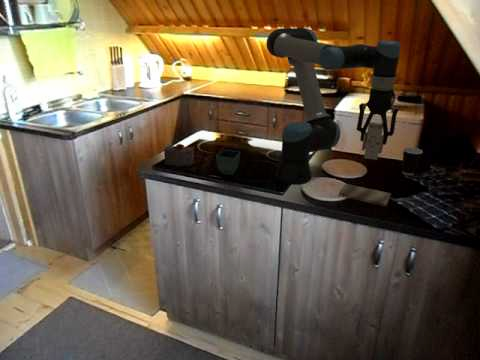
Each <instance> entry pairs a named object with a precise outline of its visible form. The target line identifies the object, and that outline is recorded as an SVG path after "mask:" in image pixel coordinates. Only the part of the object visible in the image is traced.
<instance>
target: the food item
mask: <svg viewBox="0 0 480 360" xmlns="http://www.w3.org/2000/svg"><path fill="white" fill-rule="evenodd" d="M194 153H195V148H194V147H189V146H185V145H184V144H181V143H177V144H176V145H167V146H166V147H165V148H164V149H163V156H164V165H165V166H175V167H176V168H178V167H191V166H192V164H195V163H194V162H195V159H194V158H195V157H194V155H195V154H194Z"/></svg>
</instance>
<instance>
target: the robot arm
mask: <svg viewBox="0 0 480 360" xmlns="http://www.w3.org/2000/svg"><path fill="white" fill-rule="evenodd" d="M265 44H266V49H267V51H268V53H269V54H270V55H272V57H277V58H279V59H280V58H281V59H285V58H287V61H288V64H289V65H291V66H293V70H294V75H295V77H296V82H297V86H298V90H299V94H300V98H301V103H302V105H303V110H304V114H305V118H306V119H305V120H304V121H294V122H290V123H288V124H286V125H285V126H284V127H283V131H282V136H281V139H282V141H281V142H282V143H281V155H280V156H281V157H280V162H279V165H278V166H277V169H276V172H275V173H276V174H275V176H276V177H275V178H277V180H279V181H280V182H282V183H284V184H285V183H286V184H290V185H302V184H303V185H304V184H306V182H307V183H308V181H309V182H310V181H311V180H312V170H311V166H310V162H309V161H310V153H314V152H320V151H324V150H329V149H332V148H334V147H335V146H337V144H338V143H339V141H340V138H341V127H340V125H339V124H338V123H337V122H336V121H334V120H333V119H332V116H331V115H330V114H329V113H327V112H326V111H327V110H326V108H325V103H324V100H323V96H322V95H323V94H322V92H321V89H320V88H321V87H320V84H319V79H318V77H317V72H316V69H315V65H318V66H321V68H322V69H323V70H324V71H336V70H345V69H355V68H356V69H357V68H359V69H360V68H366V69H371V70H372V78H371V83H370V87H371V88H370V90H369V96H368V101H367V102H365V103H363V102H361V103H360V104H359V105H358V108H359V115H358V120H357V123H356V131H357V132H360V140H359V141H360V142H362V146H361V151H363V152H365V148H366V140H367V133H368V131H367V130H368V126H369V123H370V122H372V119H373V117H374V116H375V115H377V116H380V119H381V121H382V120H383V128H382V135H381V142H380V147H379V153H378V155H380V154H382V152H383V148H384V146H386V144H387V143H388V137H390V136H391V137H392V136H394V133H395V127H396V121H397V115H398V112H399V111H400V108H399V107H396V106H394V105H393V103H392V99H393V93H394V90H393V89H394V88H395V87H394V86H395V81H396V78H397V77H396V75H397V74H396V73H397V68H398V65H399V59H400V56H401V55H400V54H401V53H400V52H401V43H400V42H398V41H394V40H379V41H378V42H377V44H376V46H373V45H368V44H367V45H366V44H362V43H361V44H357V43H356V44H353V45H345V46H344V45H343V46H342V45H341V46H340V45H335V44H328V43H323V42H320V41H318V37H317V35H316V33H315V32H314V31H313V30H312V29H311V28H307V27H294V28H293V27H292V28H290V27H287V28H284V27H283V28H277V29H274V30H272V32H271V33H269V34H268V36H267V38H266V43H265ZM366 108H368V110H369V113H368V116H367V118H366V120H365V122H364V116H365V111H366ZM390 110H391V111H390ZM389 111H390V112H391V114H392V115H391V120H390V125H389V126H390V127H389V126H388V119H387V113H388V112H389ZM363 122H364V125H363ZM388 127H389V128H388Z"/></svg>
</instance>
